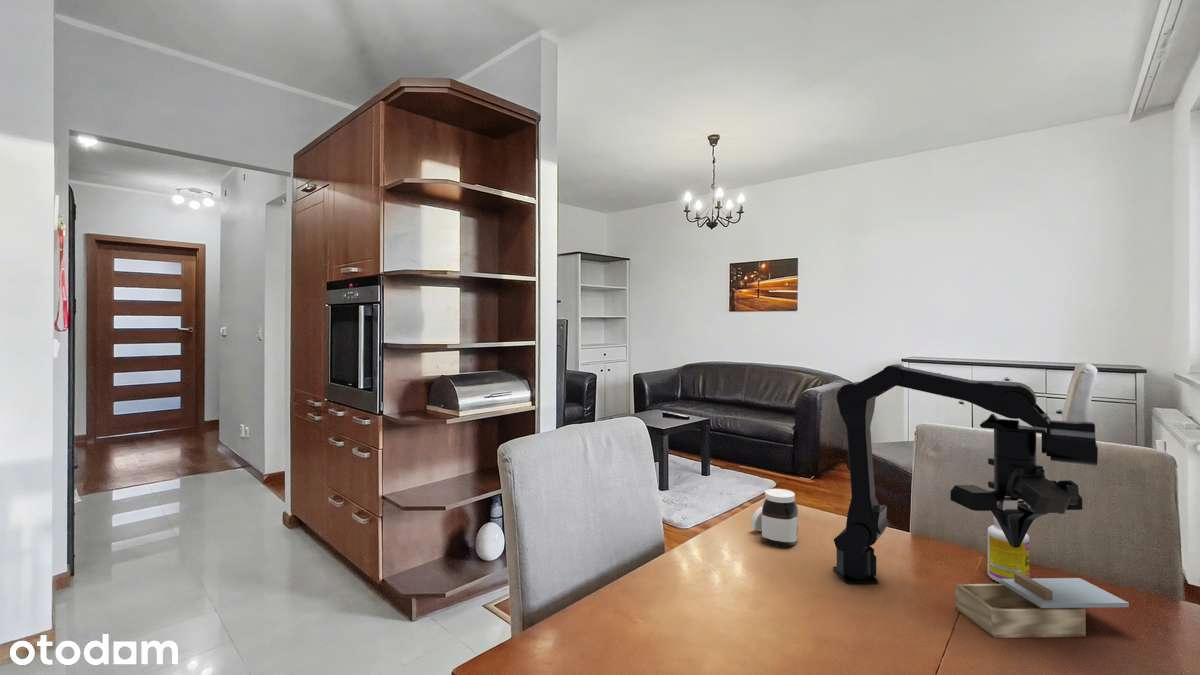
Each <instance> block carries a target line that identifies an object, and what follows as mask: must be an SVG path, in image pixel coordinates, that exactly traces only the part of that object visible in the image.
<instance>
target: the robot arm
mask: <svg viewBox="0 0 1200 675" xmlns="http://www.w3.org/2000/svg"><path fill="white" fill-rule="evenodd" d="M894 387H901V388H905V389H911V390H915V391H920V392H924V393H928V394H932V395H937V396H942V397H946V398H951V399H955V400H961V401H964V402H967V403H970V404H973V405H975V406H978V407H979V408H982V409H984V410H986V411H989V412H991V413H990V415H989V417H987V418H986V419H985V420H983V421H981V423H980V424H979V427H980V428H982V429H989V430H990V429H991V430H993V457H988V459H987V463H988V465H991V466H993V480H992V481H991V480H990V481H987V487H988V488H989V489H992V490H987V489H986V488H982V487H980V486H977V485H975V484H955V485H954V486H953V487H952V488H951V489H950V494H949V495H950V501H952V502H954V503H956V504H958V505H960V506H962V507H964V508H967V509H969V510H971V511H976V512H990V511H991V512H992V514H993V515H994V516H995V518H996V519H997V521H998V523H999V524H1000V527H1001V529H1002V531H1003V532H1004V534H1005V536H1006V538H1007V540H1008V542H1009V544H1010V546H1012V547H1014V548H1019V547H1020V546H1021V543H1022V541H1023V539H1024V537H1025V535H1026V533H1027V534H1028V531H1029V529H1030V527H1031V525H1032V524H1033V522H1034V521H1035V519H1038V518H1039V517H1041V516H1042V517H1043V516H1046V515H1048V514H1052V513H1053V514H1059V515H1063V514H1065V513H1066V511H1083V508H1084V507H1083V500H1084V499H1083V498H1082V496H1081V495H1080V491H1079V485H1078V484H1077V483H1076V482H1074V481H1072V480H1071V479H1069V480H1065V479H1064V480H1062V479H1061V480H1058V481H1056V480H1049V479H1048V478H1046V475H1045V469H1044V466H1043V465H1040V464H1037V434H1041V454H1043V455H1044V454H1046V455H1045V456H1046V457H1050V458H1049V459H1050V461H1053V462H1061V463H1068V464H1076V465H1077V464H1078V465H1084V466H1085V465H1086V466H1093V467H1097V466H1098V458H1099V457H1098V456H1099V455H1098V450H1099V449H1098V444H1097V441H1096V440H1097V439H1096V424H1095V422H1092V421H1065V420H1053V419H1051V418H1050V416H1048V413H1046V412H1045V411H1044V410H1043V409H1042V408H1041V407H1040V406H1039V405H1038V404H1037V395H1036V393H1035V392H1034V390H1033V389H1032V388H1031V387H1030V386H1029V385H1027V384H1026V383H1022V382H1018V381H1004V380H1003V381H1001V380H973V379H968V378H963V377H959V376H952V375H948V374H947V375H946V374H941V373H937V372H933V371H927V370H923V369H918V368H912V367H907V366H904V365H902V364H897V363H896V364H891V365H887V366H885V367H884V368H883V369H882V370H880V371H878V372H877V373H875V374H872V375H870V376H869V377H868V378H866V379H864V380H862V381H855V382H851V383H848V384H847V383H846V384H844V385H842V386H841V387H840V388H839V389H838V390H837V392H836V398H835V399H836V402H837V403H836V404H837V406H838V411H839V414H840V416H841V419H842V421H843V423H844V425H845V428H846V434H847V436H846V439H847V450H848V451H847V452H848V465H849V466H848V467H849V477H850V479H849V480H850V481H849V482H850V493H851V497H850V502H849V505H848V506H849V507H848V510H847V514H846V523H845V528H844V529H843V530H842V531H841V532H840V533H839V534H838V535H837V536H835V538H833V542H834V546H835V548H836V566H832V570H833V572H835V573H836V574H837V575H838V577H840V578H841V579H842V581H844V582H845V584H848V585H849V584H851V585H852V584H853V585H854V584H879V581H880V580H879V579H878V578H877V556H876V555H875V548H873V547H872V546H873V545H874V544H876V542H877V541H878V540H879V539H880V537H882V536H883V534H884V532H885V531H886V529H887V527H888V526H889V525H890V524H889V521H888V518H887V509H888V506H887V505H886V504H880V503H879V502H878V499H877V496H876V489H875V476H874V475H875V474H874V463H873V462H874V459H873V448H872V434H871V433H872V432H871V425H872V420H873V417H874V413H875V408H876V405H875V404H876V398H878V397H879V396H881V395H883V394H885V393H887V392H888V391H889V390H891V389H894ZM995 414H996V415H995ZM997 415H999V416H1002V417H1004V418H999V417H997ZM1006 418H1007V419H1006ZM1020 420H1021V421H1023V422H1024V423H1025V424H1028V425H1027V426H1026V425H1021V424H1020ZM993 515H992V516H993Z"/></svg>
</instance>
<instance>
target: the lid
mask: <svg viewBox="0 0 1200 675" xmlns="http://www.w3.org/2000/svg"><path fill="white" fill-rule="evenodd" d="M999 584H1003V585H1005V586H1007V587H1008V588H1010V589H1011V590H1013V591H1015V592H1016V593H1018V594H1019V595H1021V596H1023V597H1024V598H1026V599H1028V600H1029V601H1031V602H1032V603H1034V604H1036V605H1037V606H1039V607H1040V608H1083V609H1085V608H1129V607H1130V603H1129V601H1126V600H1124V599H1122V598H1120V597H1118V596H1116V595H1115V594H1112V593H1110V592H1108V591H1106V590H1104V589H1103V588H1100V587H1098V586H1097V585H1095V584H1092V583H1090V582H1089V581H1086V580H1085V579H1082V578H1081V577H1064V578H1063V577H1056V578H1055V577H1052V578H1051V577H1049V578H1047V577H1046V578H1044V577H1043V578H1031V577H1029V578H1028V577H1027V576H1025V575H1023V574H1021V573H1014V579H1000V583H999Z"/></svg>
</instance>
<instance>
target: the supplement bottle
mask: <svg viewBox="0 0 1200 675" xmlns="http://www.w3.org/2000/svg"><path fill="white" fill-rule="evenodd" d="M992 516H993V519H992V520H993V522H994V524H992V525H990V526H988V527H987V575H988V577H989V578H990V579H992V581H995V582H997V583H998V584H1001V583H1000V579H1014V573H1021V574H1023V575H1025V576H1027V577H1028V578H1030V565H1031V564H1030V535H1029V534H1028V532H1027V533H1026V535H1025V537H1024V539H1023V541H1022V543H1021V546H1020V547H1019V548H1014V547H1012V546H1010V544H1009V542H1008V540H1007V538H1006V536H1005V534H1004V532H1003V531H1002V529H1001V527H1000V524H999V523H998V521H997V519H996V518H995V516H994V515H992Z"/></svg>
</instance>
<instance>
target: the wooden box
mask: <svg viewBox="0 0 1200 675" xmlns="http://www.w3.org/2000/svg"><path fill="white" fill-rule="evenodd" d="M955 609H956V610H958V612H960V613H961V614H962V615H964V616H965V617H967V618H968V619H969V620H970V621H971V622H973V623H974V624H975V625H977V626H978V627H979V628H981V629H982V630H983V631H985V632H986V634H989V635H990V636H991V637H992V638H994V639H1003V638H1004V639H1013V638H1014V639H1015V638H1019V639H1020V638H1022V639H1023V638H1025V639H1026V638H1029V639H1031V638H1085V637H1087V636H1086V635H1087V634H1086V631H1087V630H1086V625H1087V624H1086V623H1087V622H1086V619H1087V618H1086V617H1087V616H1086V613H1087V612H1086V611H1087V610H1086V609H1085V608H1040V607H1039V606H1037V605H1036V604H1034V603H1032V602H1031V601H1029V600H1028V599H1026V598H1024V597H1023V596H1021V595H1019V594H1018V593H1016V592H1015V591H1013V590H1011V589H1010V588H1008V587H1007V586H1005V585H1003V584H1002V583H961V584H960V583H957V584H955Z"/></svg>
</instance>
